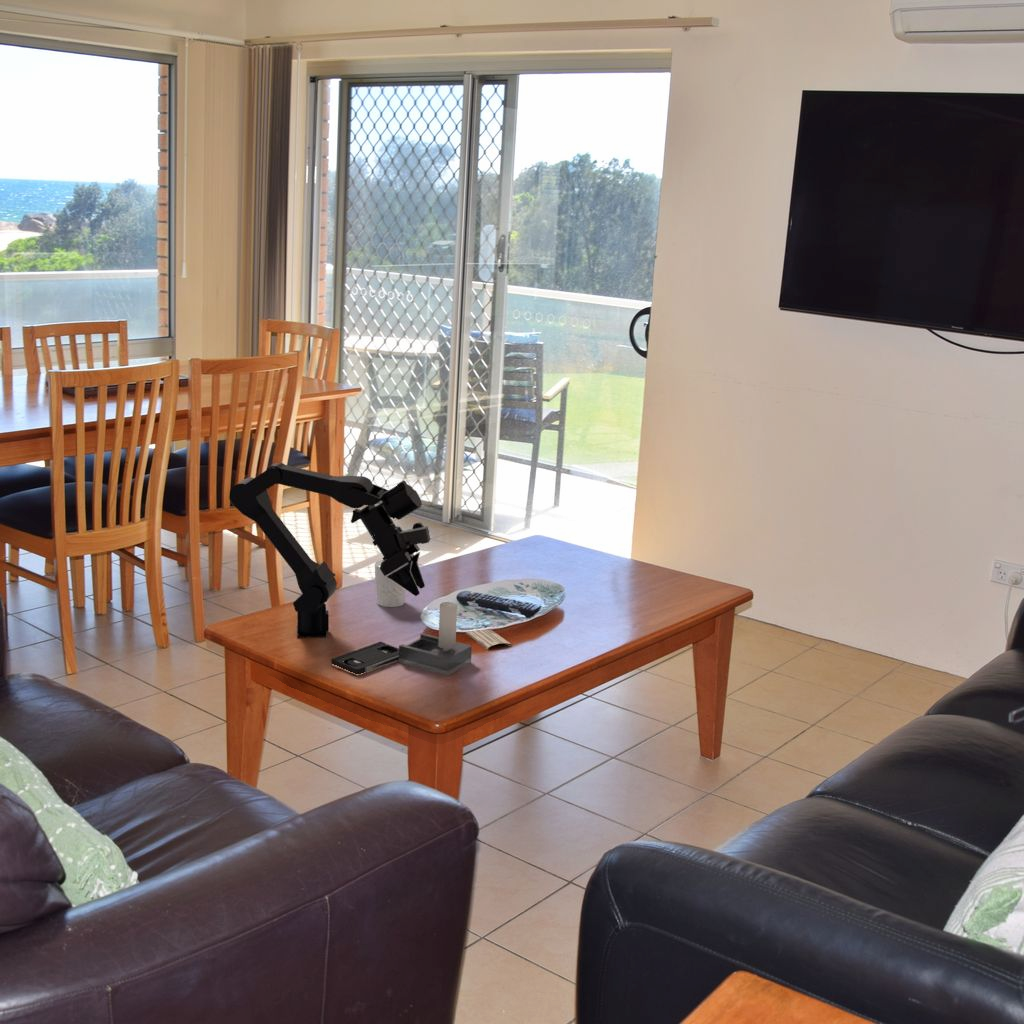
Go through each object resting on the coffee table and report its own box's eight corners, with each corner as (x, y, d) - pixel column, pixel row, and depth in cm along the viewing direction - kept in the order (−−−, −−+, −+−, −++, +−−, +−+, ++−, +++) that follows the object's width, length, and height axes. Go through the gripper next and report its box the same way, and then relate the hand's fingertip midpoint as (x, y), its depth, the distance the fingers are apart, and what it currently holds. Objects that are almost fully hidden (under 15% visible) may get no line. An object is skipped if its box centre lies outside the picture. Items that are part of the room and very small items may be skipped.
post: (431, 663, 249) (433, 607, 246) (438, 655, 254) (440, 599, 250) (454, 666, 248) (456, 610, 245) (460, 658, 252) (463, 602, 249)
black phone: (357, 678, 244) (357, 669, 243) (331, 667, 249) (331, 658, 248) (406, 659, 254) (406, 651, 254) (380, 650, 259) (380, 641, 259)
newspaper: (441, 618, 281) (442, 610, 280) (468, 614, 284) (468, 607, 284) (487, 652, 261) (487, 645, 260) (515, 648, 264) (516, 640, 264)
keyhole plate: (398, 662, 251) (399, 645, 250) (422, 649, 259) (423, 633, 258) (447, 675, 246) (448, 658, 245) (471, 662, 253) (471, 645, 252)
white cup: (368, 605, 285) (368, 565, 283) (383, 595, 292) (384, 556, 290) (397, 610, 282) (398, 570, 280) (412, 600, 289) (413, 561, 287)
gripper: (408, 515, 247) (447, 579, 248) (419, 506, 266) (456, 565, 267) (363, 543, 248) (402, 606, 249) (377, 531, 267) (414, 590, 268)
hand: (420, 591), depth 258 cm, fingers open, 9 cm apart
